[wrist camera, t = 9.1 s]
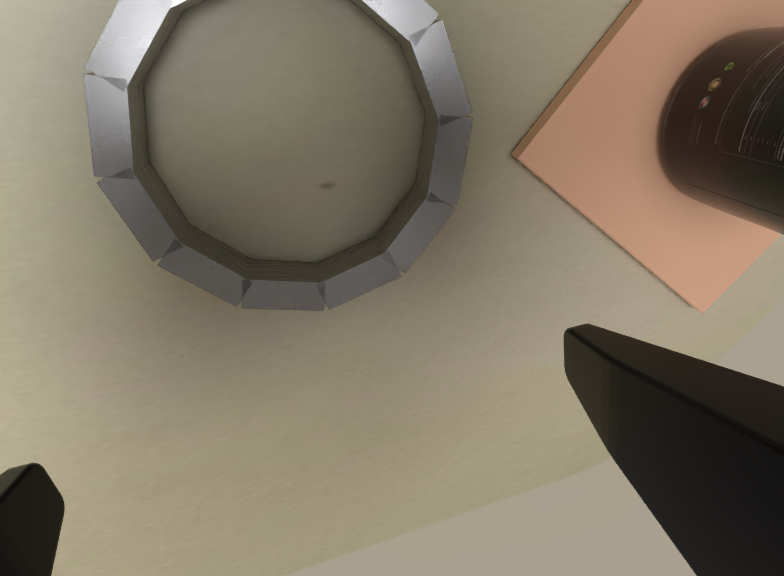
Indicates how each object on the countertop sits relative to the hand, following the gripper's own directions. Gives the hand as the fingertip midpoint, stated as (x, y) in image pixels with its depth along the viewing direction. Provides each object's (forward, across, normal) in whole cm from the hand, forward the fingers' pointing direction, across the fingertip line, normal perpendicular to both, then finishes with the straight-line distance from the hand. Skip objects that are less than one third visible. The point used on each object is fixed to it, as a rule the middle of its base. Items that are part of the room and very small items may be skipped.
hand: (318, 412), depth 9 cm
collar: (+13, 0, -2) cm, 13 cm away
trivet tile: (+13, -18, 0) cm, 22 cm away
